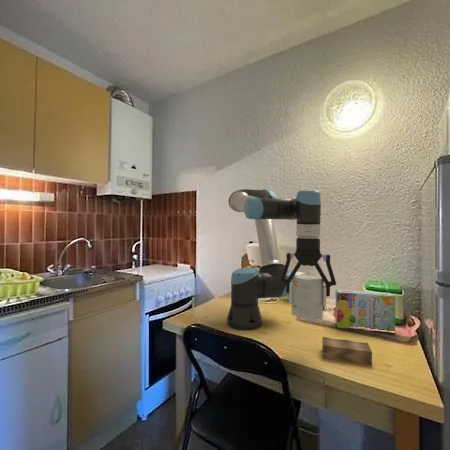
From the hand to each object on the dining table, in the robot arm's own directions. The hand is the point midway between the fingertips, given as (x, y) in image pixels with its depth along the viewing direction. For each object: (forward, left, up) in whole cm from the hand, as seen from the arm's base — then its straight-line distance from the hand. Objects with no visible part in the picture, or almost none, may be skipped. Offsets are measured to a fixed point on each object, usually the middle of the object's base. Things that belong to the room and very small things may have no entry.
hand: (307, 304), depth 87 cm
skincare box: (-6, +59, -17) cm, 61 cm away
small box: (0, 0, -4) cm, 4 cm away
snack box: (+22, +29, -17) cm, 40 cm away
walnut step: (+12, +2, -16) cm, 20 cm away
